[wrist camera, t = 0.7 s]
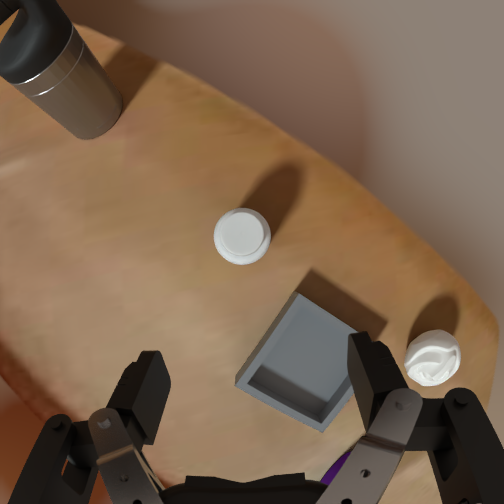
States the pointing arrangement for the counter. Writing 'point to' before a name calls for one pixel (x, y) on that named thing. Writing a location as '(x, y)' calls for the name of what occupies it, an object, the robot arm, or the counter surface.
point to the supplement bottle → (242, 236)
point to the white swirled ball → (432, 357)
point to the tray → (301, 364)
